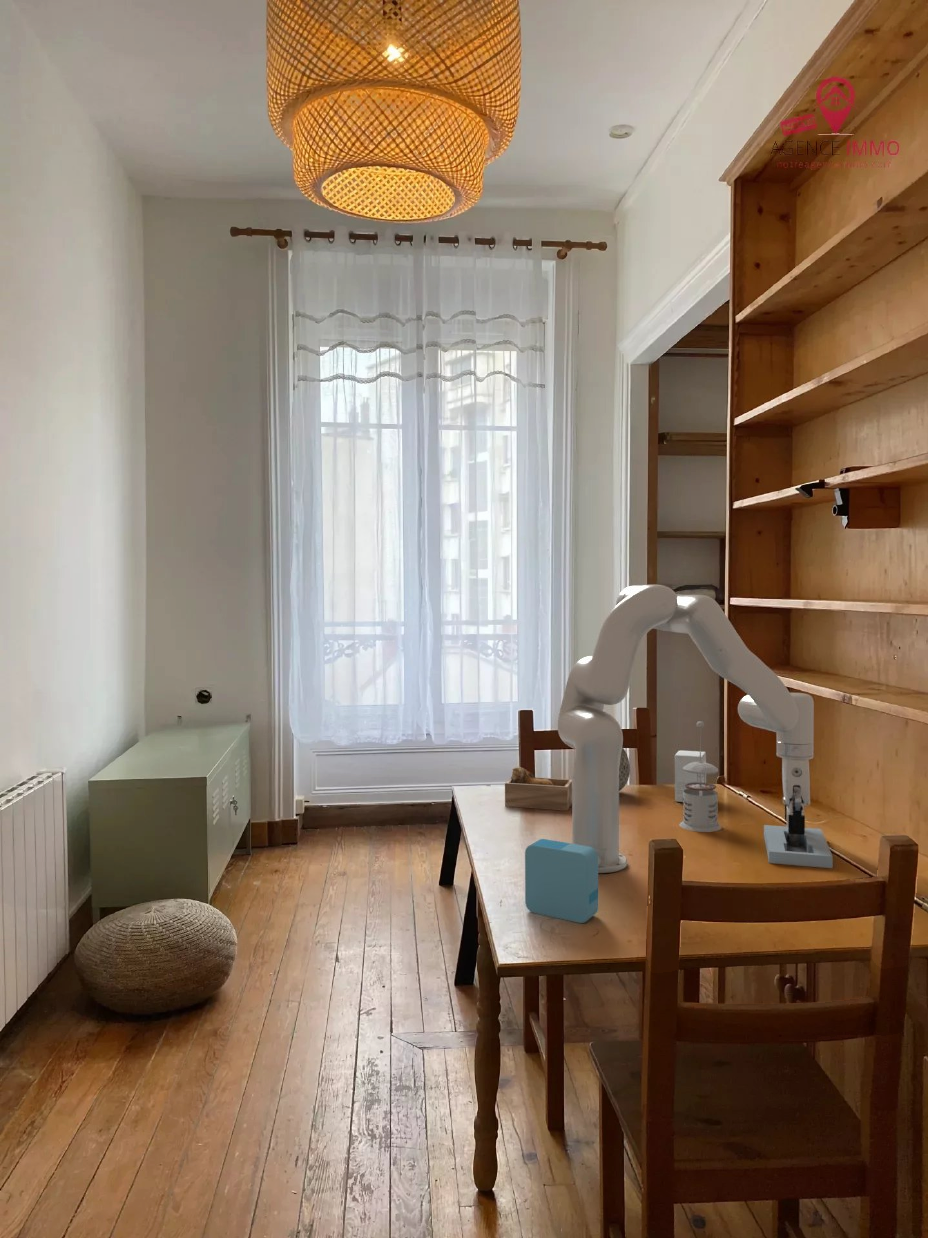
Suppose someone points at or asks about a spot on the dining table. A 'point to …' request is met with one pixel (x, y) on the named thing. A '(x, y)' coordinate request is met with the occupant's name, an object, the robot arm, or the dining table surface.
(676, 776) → the supplement box
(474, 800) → the dining table surface
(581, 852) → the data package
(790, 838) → the metal peg
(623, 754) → the decorative egg
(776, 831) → the keyhole board
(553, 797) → the open wooden box
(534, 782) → the lion figurine
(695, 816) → the french press
